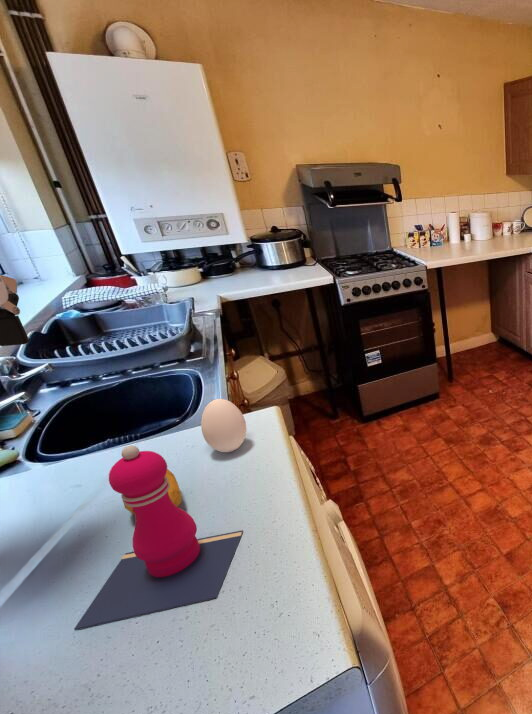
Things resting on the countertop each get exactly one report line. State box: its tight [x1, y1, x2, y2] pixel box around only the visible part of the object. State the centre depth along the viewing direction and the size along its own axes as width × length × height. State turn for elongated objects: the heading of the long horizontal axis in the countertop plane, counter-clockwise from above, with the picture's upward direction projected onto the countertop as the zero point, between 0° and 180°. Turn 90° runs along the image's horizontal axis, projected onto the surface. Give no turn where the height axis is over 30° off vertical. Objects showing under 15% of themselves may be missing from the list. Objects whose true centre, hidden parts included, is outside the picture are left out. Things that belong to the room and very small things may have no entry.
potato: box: [122, 468, 183, 516], centre depth 74 cm, size 7×14×7 cm, turn 45°
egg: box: [200, 398, 248, 453], centre depth 88 cm, size 7×7×12 cm
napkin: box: [73, 529, 244, 631], centre depth 62 cm, size 16×12×1 cm
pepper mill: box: [108, 445, 200, 577], centre depth 61 cm, size 7×7×20 cm
